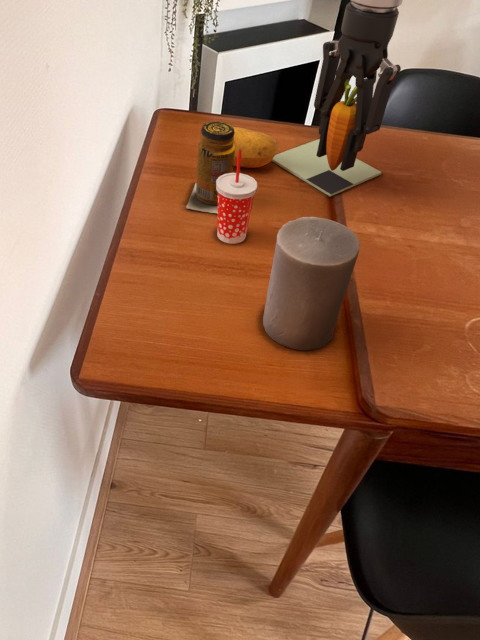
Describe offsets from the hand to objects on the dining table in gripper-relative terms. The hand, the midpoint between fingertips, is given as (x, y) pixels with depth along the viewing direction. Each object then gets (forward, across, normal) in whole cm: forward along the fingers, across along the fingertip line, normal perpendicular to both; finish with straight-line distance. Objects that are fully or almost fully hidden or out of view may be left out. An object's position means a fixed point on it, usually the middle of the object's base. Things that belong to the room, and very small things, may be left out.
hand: (334, 160), depth 93 cm
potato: (+5, -15, -9) cm, 18 cm away
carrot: (+2, 0, 0) cm, 2 cm away
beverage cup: (+5, +2, -25) cm, 26 cm away
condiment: (+5, -8, -21) cm, 23 cm away
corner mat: (+4, -5, +4) cm, 8 cm away
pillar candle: (+5, +23, -31) cm, 39 cm away
